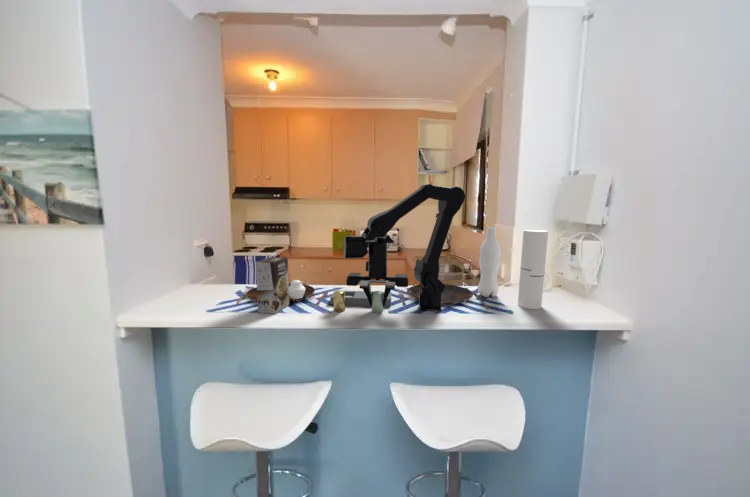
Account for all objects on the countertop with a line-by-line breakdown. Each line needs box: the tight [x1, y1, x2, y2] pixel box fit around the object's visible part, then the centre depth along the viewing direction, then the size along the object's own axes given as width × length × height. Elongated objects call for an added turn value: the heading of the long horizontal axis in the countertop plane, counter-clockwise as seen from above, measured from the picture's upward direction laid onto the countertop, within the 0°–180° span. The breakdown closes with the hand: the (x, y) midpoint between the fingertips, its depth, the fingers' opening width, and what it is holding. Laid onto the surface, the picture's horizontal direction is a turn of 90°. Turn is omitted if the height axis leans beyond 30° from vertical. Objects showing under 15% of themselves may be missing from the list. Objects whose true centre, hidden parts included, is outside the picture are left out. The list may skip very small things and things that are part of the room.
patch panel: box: [329, 290, 392, 307], centre depth 109 cm, size 20×8×3 cm, turn 85°
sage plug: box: [371, 290, 384, 314], centre depth 100 cm, size 4×4×6 cm
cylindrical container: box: [517, 229, 549, 310], centre depth 105 cm, size 7×7×25 cm
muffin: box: [289, 279, 306, 299], centre depth 111 cm, size 6×6×7 cm
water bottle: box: [477, 226, 502, 298], centre depth 115 cm, size 7×7×25 cm
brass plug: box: [333, 289, 346, 313], centre depth 101 cm, size 4×4×6 cm
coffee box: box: [255, 256, 290, 315], centre depth 101 cm, size 9×6×16 cm
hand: (377, 306), depth 101 cm, fingers closed on sage plug, 3 cm apart
